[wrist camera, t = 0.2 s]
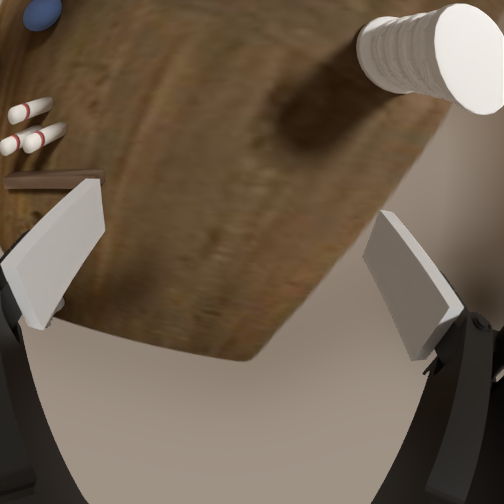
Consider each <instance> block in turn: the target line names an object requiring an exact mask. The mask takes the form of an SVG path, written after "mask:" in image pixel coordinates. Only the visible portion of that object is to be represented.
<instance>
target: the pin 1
mask: <svg viewBox="0 0 504 504" xmlns="http://www.w3.org/2000/svg"><path fill="white" fill-rule="evenodd" d="M41 129H42V127H41V126H40V125H39V124H37V125H34V126H32V127H30V128H27V129H25V130H23V131H21V132H18V133H16V134H14V135H11V136H9V137H8V138H6V139H4V140H2V141H1V142H0V152H1V154H2V155H4V156H7V155H9V154H11V153H12V152H15V151H17V150H18V149H20V148H21V147H22V142H23V139H24V138H25V137H26V136H28V135H30V134H32V133H34V132H36V131H39V130H41Z"/></svg>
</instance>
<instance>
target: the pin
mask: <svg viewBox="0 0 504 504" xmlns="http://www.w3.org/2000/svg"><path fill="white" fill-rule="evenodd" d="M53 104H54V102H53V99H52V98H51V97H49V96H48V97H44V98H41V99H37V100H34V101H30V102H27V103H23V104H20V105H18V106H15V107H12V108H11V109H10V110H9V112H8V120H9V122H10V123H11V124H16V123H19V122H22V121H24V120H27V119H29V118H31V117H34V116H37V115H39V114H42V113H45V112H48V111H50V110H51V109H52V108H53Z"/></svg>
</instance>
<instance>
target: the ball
mask: <svg viewBox="0 0 504 504" xmlns="http://www.w3.org/2000/svg"><path fill="white" fill-rule="evenodd" d="M61 10H62V3H61V1H60V0H33V1H31V2H30V3H29V5H28V6H27V7H26V9H25V11H24V15H23V22H24V25H25V26H26V28H27V29H29V30H31V31H42V30H45V29H47V28H49V27H50V26H52V25H53V24H54V23H55V22H56V21H57V19H58V18H59V16H60V14H61Z"/></svg>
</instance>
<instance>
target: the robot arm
mask: <svg viewBox="0 0 504 504" xmlns="http://www.w3.org/2000/svg"><path fill="white" fill-rule="evenodd" d="M104 232H105V225H104V217H103V208H102V198H101V187H100V179H85V180H84V181H82V182H81V183H80V184H79V185H78V186H77V187H76V188H74V189H73V190H72V191H71V192H70V193H69V194H68V195H67V196H65V197H64V198H63V199H62V200H61V201H60V202H59V203H58V204H57V205H56V206H55V207H54V208H52V209H51V210H50V211H49V212H48V213H47V214H46V215H45V216H44V217H43V218H42V219H41V220H40V221H39V222H38V223H37V224H36V225H35V226H34V227H33V228H31V229H30V230H28V231H26V232H25V233H23V234H22V235H21V236H20V238H19V239H18V240H17V241H16V243H14V244H13V245H12V246H11V249H8V251H7V252H6V253H5V254H4V255H3V256H2V257H1V259H0V504H88V502H87V501H86V500H85V499H84V497H83V496H82V494H81V492H80V490H79V489H78V487H77V485H76V483H75V481H74V479H73V477H72V476H71V474H70V472H69V470H68V468H67V466H66V464H65V462H64V460H63V457H62V455H61V453H60V451H59V449H58V446H57V444H56V442H55V440H54V437H53V435H52V432H51V430H50V427H49V425H48V422H47V420H46V417H45V414H44V411H43V409H42V406H41V403H40V401H39V397H38V394H37V391H36V387H35V384H34V381H33V377H32V374H31V370H30V366H29V362H28V358H27V354H26V350H25V345H24V341H23V336H22V331H21V327H20V325H19V323H18V320H19V319H20V317H21V315H23V317H24V319H25V321H26V323H27V325H28V326H29V327H33V328H36V329H40V330H44V328H45V327H46V325H47V323H48V321H49V319H50V317H51V315H52V314H53V312H54V310H55V308H56V307H57V305H58V303H59V301H60V300H61V298H62V296H63V295H64V293H65V291H66V290H67V288H68V286H69V285H70V283H71V281H72V280H73V278H74V276H75V275H76V273H77V272H78V270H79V269H80V267H81V265H82V264H83V262H84V261H85V259H86V258H87V256H88V255H89V253H90V252H91V250H92V249H93V247H94V246H95V245H96V243H97V242H98V240H99V239H100V237H101V236H102V234H103V233H104ZM363 259H364V261H365V263H366V264H367V266H368V268H369V270H370V272H371V274H372V276H373V278H374V280H375V282H376V284H377V286H378V288H379V290H380V292H381V294H382V296H383V298H384V301H385V303H386V305H387V307H388V309H389V311H390V313H391V315H392V318H393V320H394V322H395V324H396V327H397V329H398V331H399V333H400V336H401V338H402V340H403V343H404V345H405V347H406V350H407V352H408V354H409V357H410V359H411V361H414V360H424V359H426V358H427V357H428V356H429V355H430V354H431V352H432V351H433V350H434V349H435V351H436V353H437V357H436V358H435V359H434V360H433V361H432V363H431V364H430V365H429V366H428V367H427V368H426V370H425V371H424V372H423V375H425V374H426V373H427V372H428V371H430V372H429V376H428V379H427V382H426V385H425V388H424V391H423V394H422V396H421V399H420V402H419V405H418V407H417V410H416V413H415V415H414V418H413V420H412V423H411V425H410V428H409V430H408V432H407V435H406V437H405V439H404V441H403V444H402V446H401V448H400V450H399V452H398V455H397V457H396V459H395V461H394V463H393V465H392V467H391V469H390V470H389V472H388V474H387V476H386V478H385V480H384V482H383V484H382V485H381V487H380V489H379V491H378V493H377V494H376V496H375V498H374V499H373V501H372V503H371V504H504V376H503V377H502V378H501V379H500V380H499V381H498V382H496V376H497V375H498V374H499V373H500V372H501V371H502V370H503V369H504V326H503V327H502V329H501V330H500V331H496V330H493V329H492V326H491V324H490V323H489V321H488V320H487V319H486V318H485V317H484V316H482V315H481V314H479V313H476V312H471V313H470V312H469V310H468V309H467V307H466V306H465V304H464V303H463V301H462V300H461V298H460V297H459V295H458V294H457V292H456V291H454V288H453V287H452V285H450V282H449V281H448V280H447V278H446V277H445V275H444V274H443V273H442V272H441V271H440V270H438V269H437V267H436V266H435V265H434V263H433V262H432V260H431V259H430V258H429V256H428V255H427V254H426V252H425V251H424V250H423V249H422V247H421V246H420V245H419V244H418V242H417V241H416V240H415V238H414V237H413V236H412V235H411V233H410V232H409V231H408V230H407V228H406V227H405V226H404V225H403V224H402V222H401V221H400V220H399V219H398V218H397V217H396V215H395V214H394V213H393V212H389V211H384V210H380V211H379V214H378V217H377V219H376V222H375V225H374V228H373V230H372V233H371V236H370V239H369V241H368V244H367V246H366V249H365V252H364V254H363Z"/></svg>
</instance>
